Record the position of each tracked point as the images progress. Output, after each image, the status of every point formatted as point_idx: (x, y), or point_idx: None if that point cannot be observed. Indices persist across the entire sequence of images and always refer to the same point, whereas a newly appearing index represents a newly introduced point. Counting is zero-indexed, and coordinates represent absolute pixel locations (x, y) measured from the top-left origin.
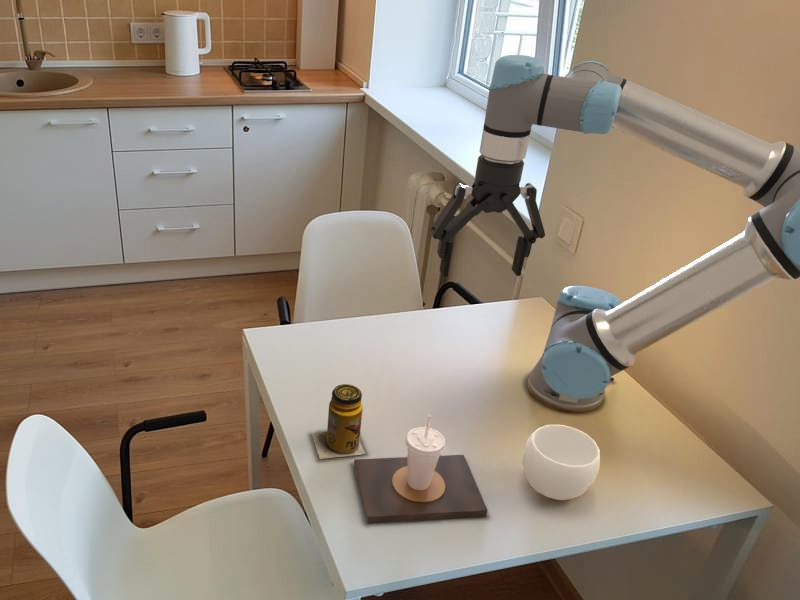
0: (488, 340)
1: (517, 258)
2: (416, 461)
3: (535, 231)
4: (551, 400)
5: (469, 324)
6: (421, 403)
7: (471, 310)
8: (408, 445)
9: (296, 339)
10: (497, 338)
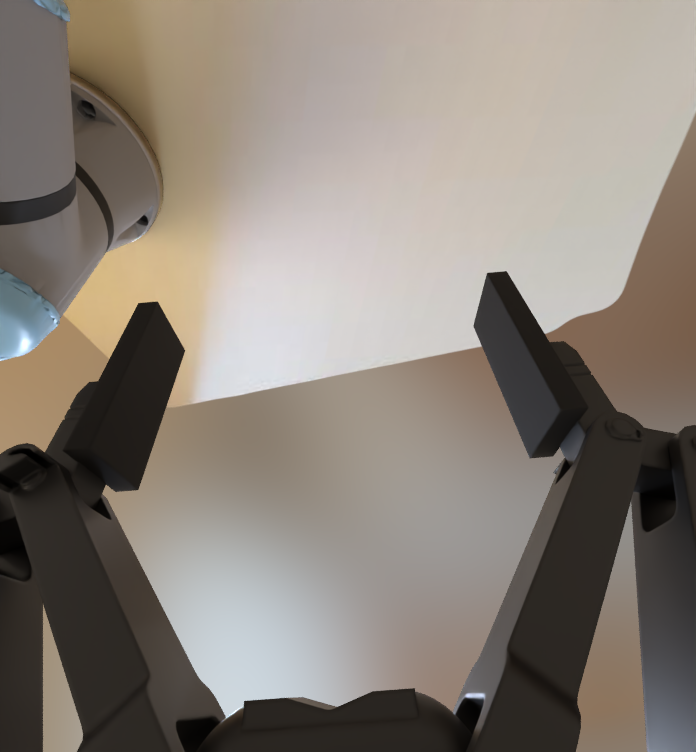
0: (239, 317)
1: (149, 377)
2: None
3: (6, 529)
4: (95, 95)
5: (267, 352)
6: (399, 103)
7: (261, 381)
8: None
9: (550, 304)
10: (223, 323)
